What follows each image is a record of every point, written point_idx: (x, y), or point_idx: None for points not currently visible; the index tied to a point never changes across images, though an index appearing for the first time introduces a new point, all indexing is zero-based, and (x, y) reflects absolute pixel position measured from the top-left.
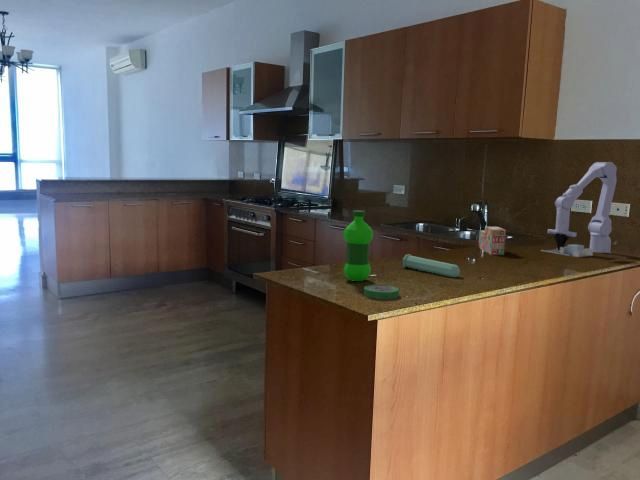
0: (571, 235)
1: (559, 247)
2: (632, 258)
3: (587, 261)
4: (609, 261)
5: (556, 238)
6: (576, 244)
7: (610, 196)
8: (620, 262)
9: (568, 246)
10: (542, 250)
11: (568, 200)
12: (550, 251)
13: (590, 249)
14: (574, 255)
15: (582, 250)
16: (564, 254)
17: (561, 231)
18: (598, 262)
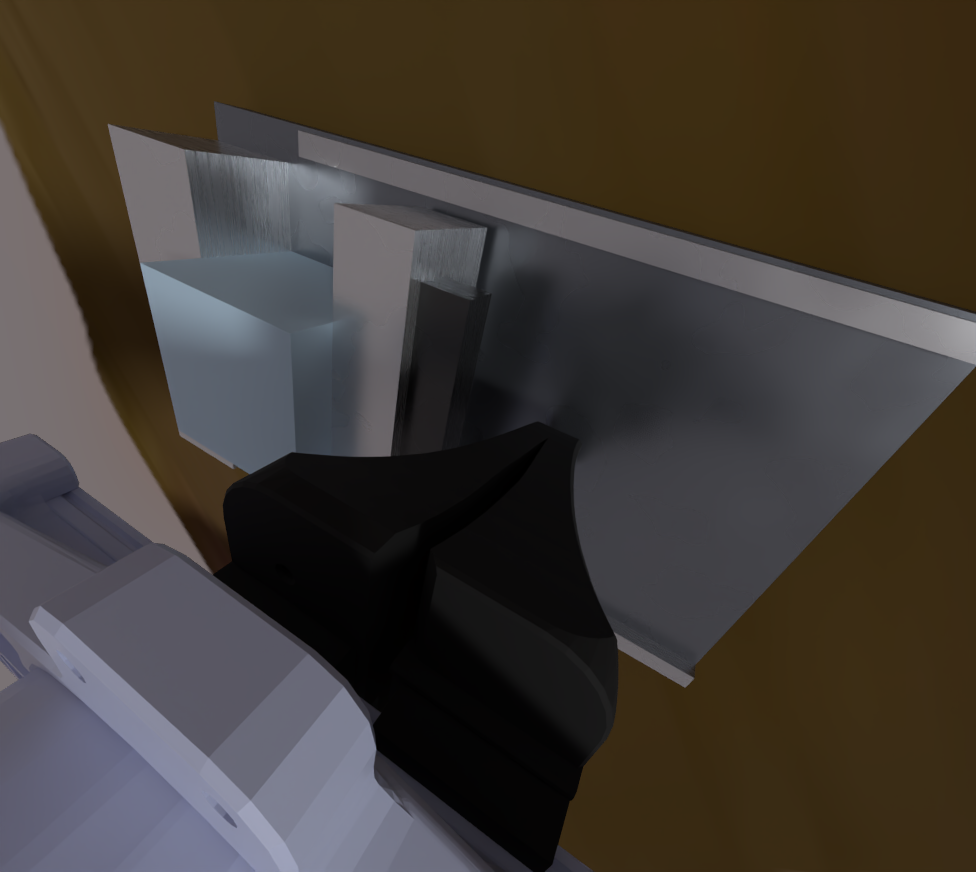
0: (71, 513)
1: (468, 299)
2: (197, 541)
3: (139, 75)
4: (131, 298)
5: (516, 547)
6: (259, 467)
7: None
8: (99, 316)
9: (300, 316)
10: (944, 313)
11: None
12: (682, 243)
13: (170, 394)
14: (254, 155)
15: (136, 226)
16: (383, 153)
17: (49, 678)
18: (95, 130)
